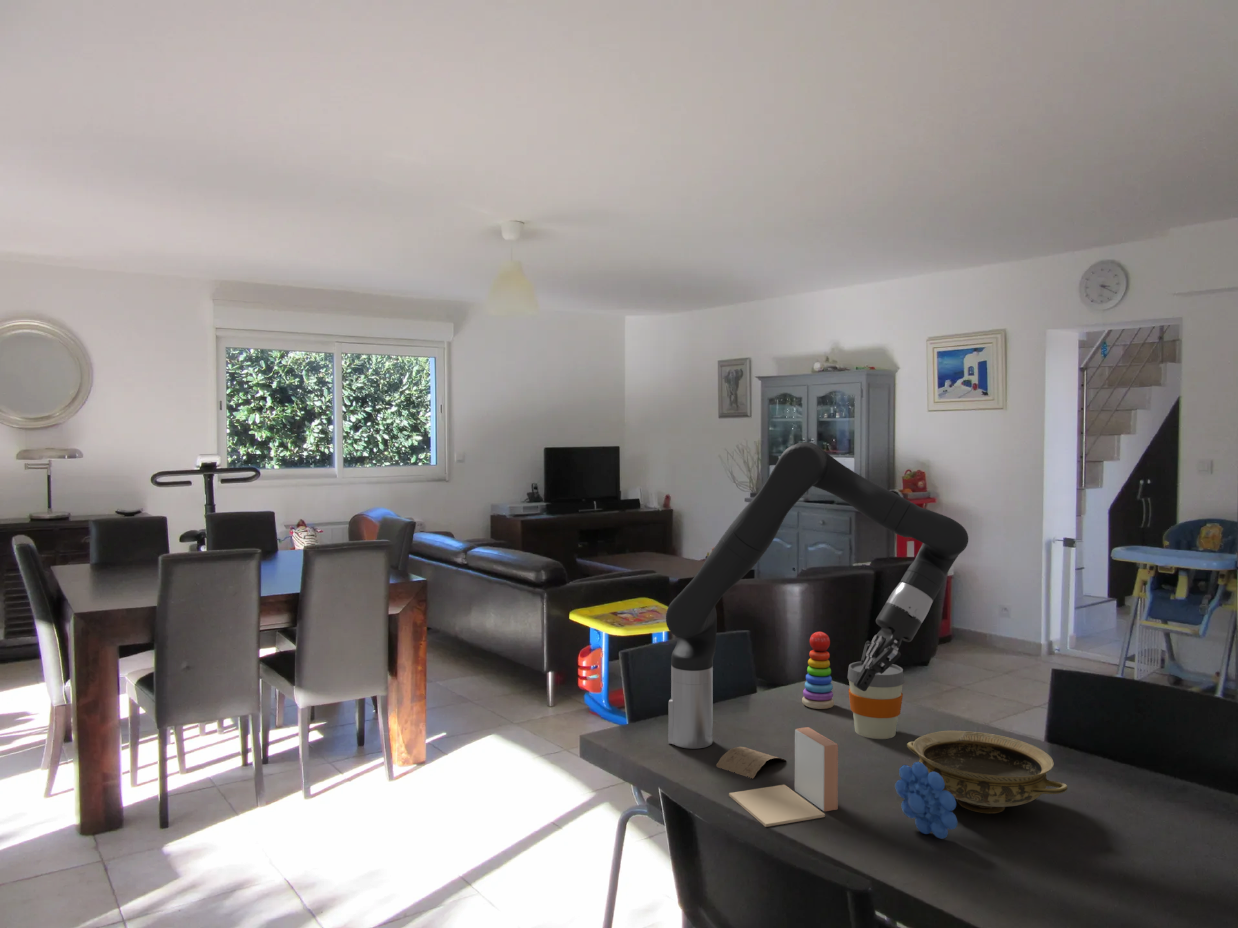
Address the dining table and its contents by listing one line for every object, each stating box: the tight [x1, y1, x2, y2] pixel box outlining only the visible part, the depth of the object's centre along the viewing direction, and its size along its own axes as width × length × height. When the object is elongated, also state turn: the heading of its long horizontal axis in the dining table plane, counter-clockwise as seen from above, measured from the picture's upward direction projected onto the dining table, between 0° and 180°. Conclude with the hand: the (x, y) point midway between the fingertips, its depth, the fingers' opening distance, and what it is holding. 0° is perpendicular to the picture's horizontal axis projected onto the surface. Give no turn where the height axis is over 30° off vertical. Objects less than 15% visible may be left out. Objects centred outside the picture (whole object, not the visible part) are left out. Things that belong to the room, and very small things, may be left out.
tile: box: [794, 726, 839, 813], centre depth 160 cm, size 3×10×12 cm, turn 20°
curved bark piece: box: [715, 746, 787, 779], centre depth 178 cm, size 14×10×3 cm
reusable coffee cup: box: [847, 661, 905, 740], centre depth 197 cm, size 13×13×15 cm
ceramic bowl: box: [906, 730, 1068, 814], centre depth 158 cm, size 30×24×10 cm
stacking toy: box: [801, 631, 835, 710], centre depth 217 cm, size 8×8×19 cm
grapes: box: [894, 761, 958, 840], centre depth 145 cm, size 12×7×12 cm, turn 37°
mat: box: [728, 784, 826, 828], centre depth 157 cm, size 12×14×1 cm
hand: (859, 688), depth 163 cm, fingers closed
